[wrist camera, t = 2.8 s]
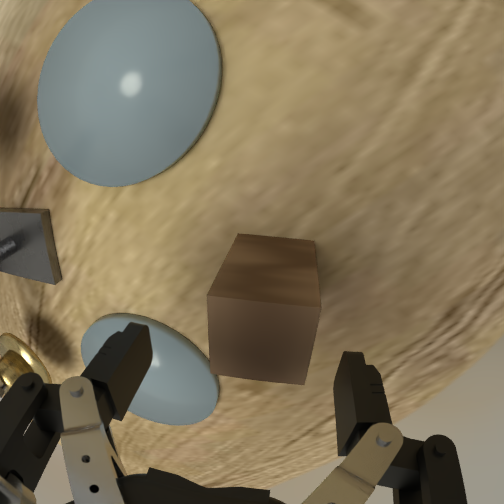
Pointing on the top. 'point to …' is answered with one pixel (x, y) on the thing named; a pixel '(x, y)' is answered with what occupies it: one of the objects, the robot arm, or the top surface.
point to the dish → (162, 372)
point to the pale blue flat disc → (128, 88)
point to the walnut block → (264, 310)
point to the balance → (28, 266)
